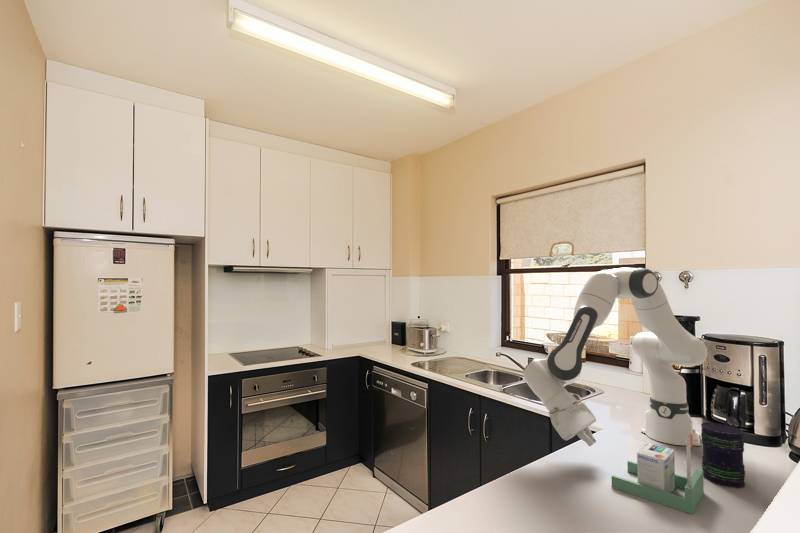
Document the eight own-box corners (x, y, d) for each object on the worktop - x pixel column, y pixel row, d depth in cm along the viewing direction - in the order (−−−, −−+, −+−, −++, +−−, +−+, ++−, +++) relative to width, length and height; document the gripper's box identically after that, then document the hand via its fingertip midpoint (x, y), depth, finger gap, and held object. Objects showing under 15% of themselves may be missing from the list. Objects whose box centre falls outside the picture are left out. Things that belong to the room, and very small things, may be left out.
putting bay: (628, 470, 122) (627, 410, 123) (703, 493, 109) (701, 425, 110) (611, 487, 112) (610, 421, 113) (692, 514, 99) (690, 439, 100)
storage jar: (744, 492, 110) (742, 436, 111) (699, 480, 117) (698, 427, 118) (746, 480, 117) (744, 428, 118) (704, 469, 124) (703, 420, 125)
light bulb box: (648, 480, 116) (647, 442, 117) (676, 488, 112) (675, 449, 112) (636, 492, 109) (636, 452, 110) (665, 502, 104) (664, 460, 105)
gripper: (553, 406, 122) (587, 448, 114) (580, 393, 136) (612, 430, 129) (539, 417, 125) (572, 459, 117) (567, 404, 139) (597, 440, 132)
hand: (593, 444), depth 123 cm, fingers closed
